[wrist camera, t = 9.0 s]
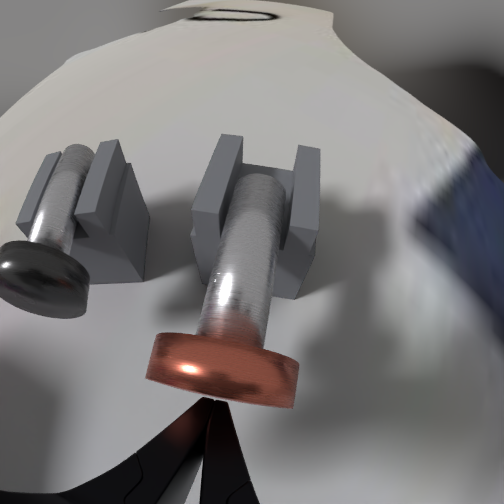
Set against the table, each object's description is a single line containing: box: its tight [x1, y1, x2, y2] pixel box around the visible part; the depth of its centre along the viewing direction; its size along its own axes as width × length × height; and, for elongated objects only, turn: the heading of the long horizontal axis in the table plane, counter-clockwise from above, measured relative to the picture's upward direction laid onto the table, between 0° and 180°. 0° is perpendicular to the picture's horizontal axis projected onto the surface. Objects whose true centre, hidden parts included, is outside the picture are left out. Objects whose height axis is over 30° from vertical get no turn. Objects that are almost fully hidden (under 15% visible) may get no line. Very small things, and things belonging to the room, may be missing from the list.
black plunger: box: [0, 144, 95, 319], centre depth 12 cm, size 9×5×5 cm, turn 6°
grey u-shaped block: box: [16, 139, 150, 284], centre depth 16 cm, size 6×6×8 cm
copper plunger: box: [145, 174, 299, 409], centre depth 11 cm, size 9×5×5 cm, turn 170°
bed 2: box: [190, 134, 320, 300], centre depth 16 cm, size 6×6×8 cm
